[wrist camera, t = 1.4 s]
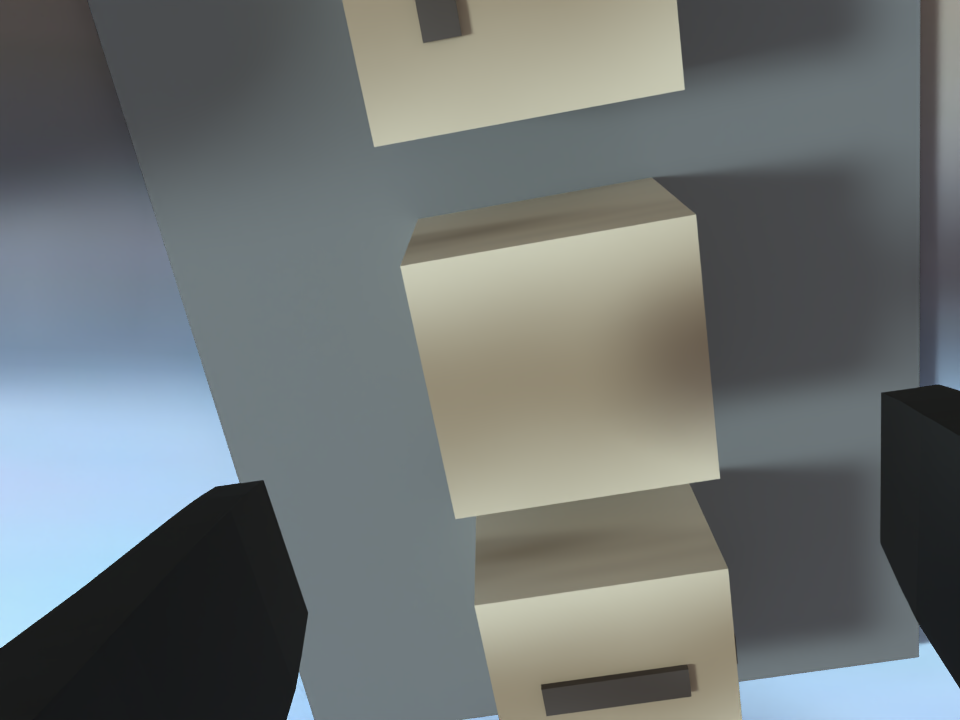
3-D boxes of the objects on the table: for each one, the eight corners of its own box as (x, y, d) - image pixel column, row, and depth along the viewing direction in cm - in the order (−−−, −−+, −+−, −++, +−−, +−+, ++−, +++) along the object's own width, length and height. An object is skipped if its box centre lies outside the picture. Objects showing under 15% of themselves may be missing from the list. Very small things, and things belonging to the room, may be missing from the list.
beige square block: (707, 639, 22) (755, 768, 18) (510, 667, 22) (516, 799, 18) (689, 469, 20) (738, 572, 16) (476, 502, 21) (474, 610, 17)
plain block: (675, 393, 20) (720, 478, 16) (461, 428, 20) (455, 519, 16) (652, 177, 18) (695, 214, 14) (417, 218, 18) (400, 266, 14)
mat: (909, 643, 23) (918, 656, 22) (323, 725, 24) (320, 738, 23) (907, -365, 15) (920, -378, 14) (42, -177, 16) (29, -183, 16)
